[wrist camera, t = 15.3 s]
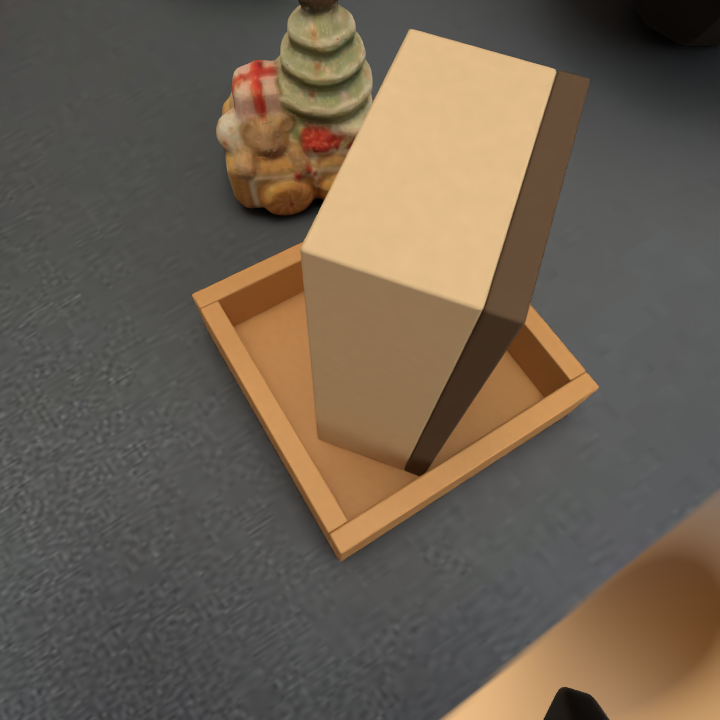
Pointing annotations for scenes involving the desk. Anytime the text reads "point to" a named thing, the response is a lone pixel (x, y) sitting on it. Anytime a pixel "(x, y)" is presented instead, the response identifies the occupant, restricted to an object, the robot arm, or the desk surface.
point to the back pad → (432, 243)
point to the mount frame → (346, 468)
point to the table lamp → (683, 20)
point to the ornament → (297, 111)
